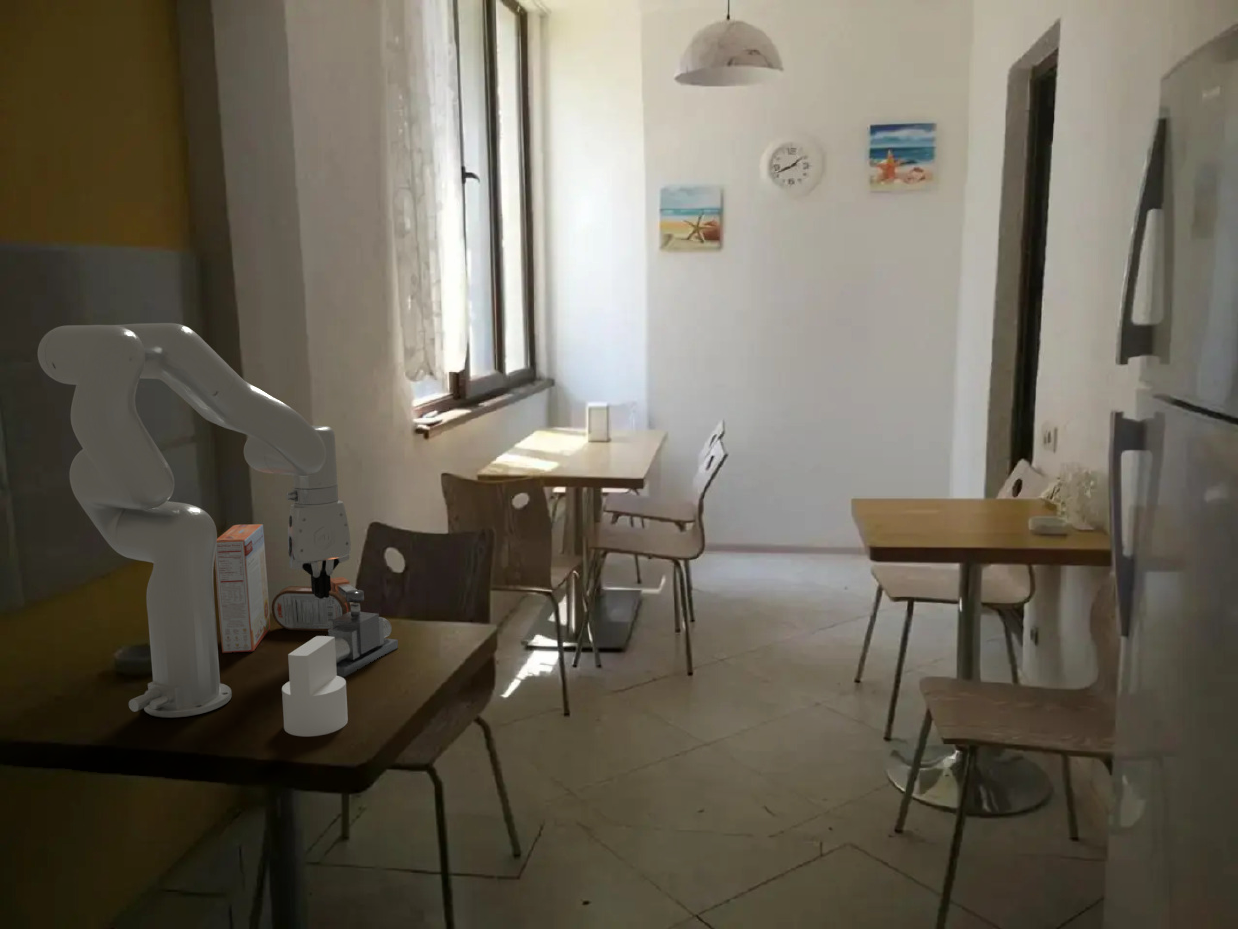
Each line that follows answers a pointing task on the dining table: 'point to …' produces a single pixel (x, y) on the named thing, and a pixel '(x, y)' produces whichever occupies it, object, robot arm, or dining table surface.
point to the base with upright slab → (314, 690)
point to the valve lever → (346, 589)
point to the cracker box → (242, 588)
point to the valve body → (360, 639)
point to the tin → (307, 609)
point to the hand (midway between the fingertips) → (321, 596)
